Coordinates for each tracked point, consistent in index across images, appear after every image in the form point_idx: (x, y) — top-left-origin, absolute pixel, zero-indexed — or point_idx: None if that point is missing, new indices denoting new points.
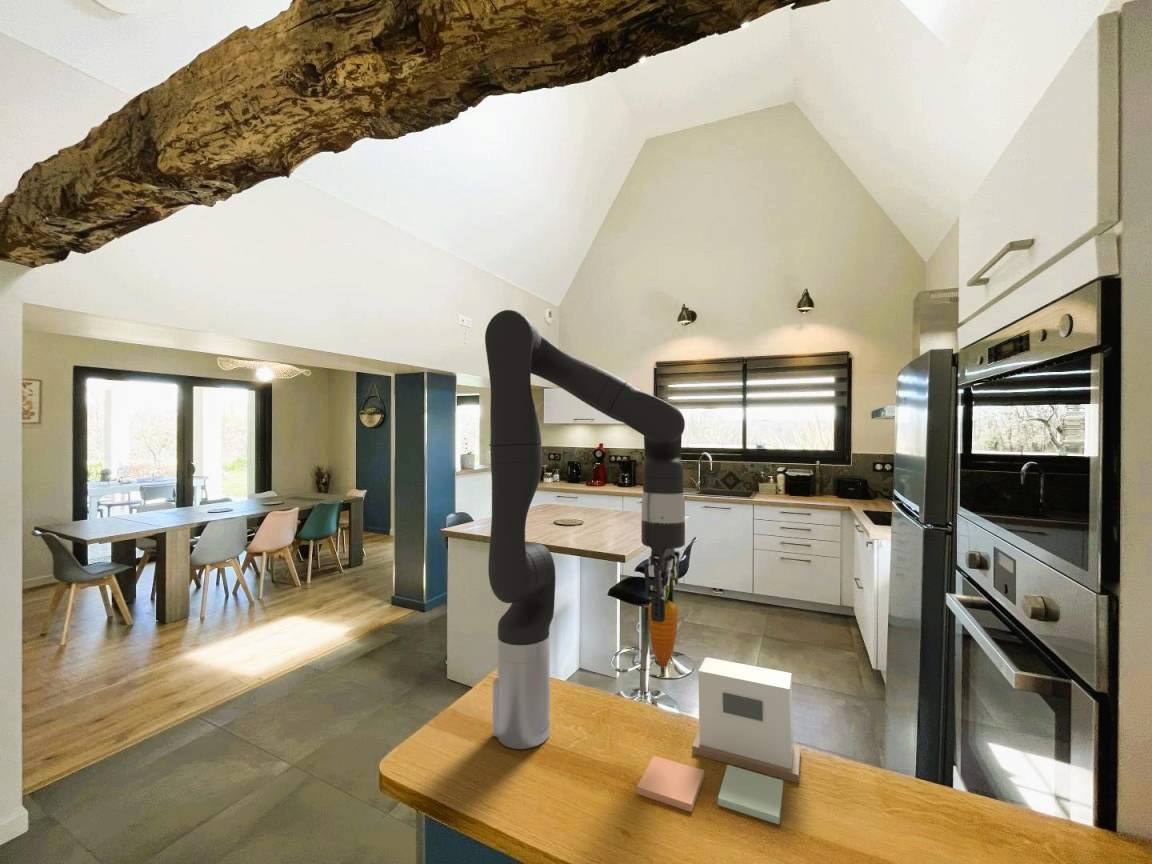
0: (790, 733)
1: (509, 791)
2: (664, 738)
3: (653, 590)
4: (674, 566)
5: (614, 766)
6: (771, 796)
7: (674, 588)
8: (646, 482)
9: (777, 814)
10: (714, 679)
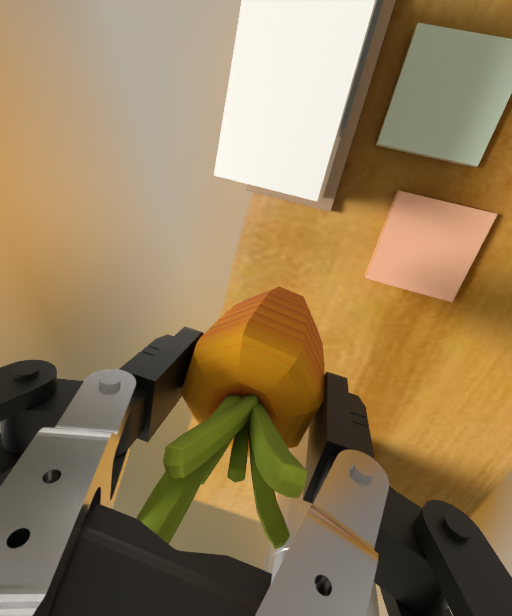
0: None
1: (451, 455)
2: (294, 259)
3: (428, 600)
4: (40, 603)
5: (382, 333)
6: (471, 54)
7: (113, 375)
8: None
9: None
10: (332, 150)
